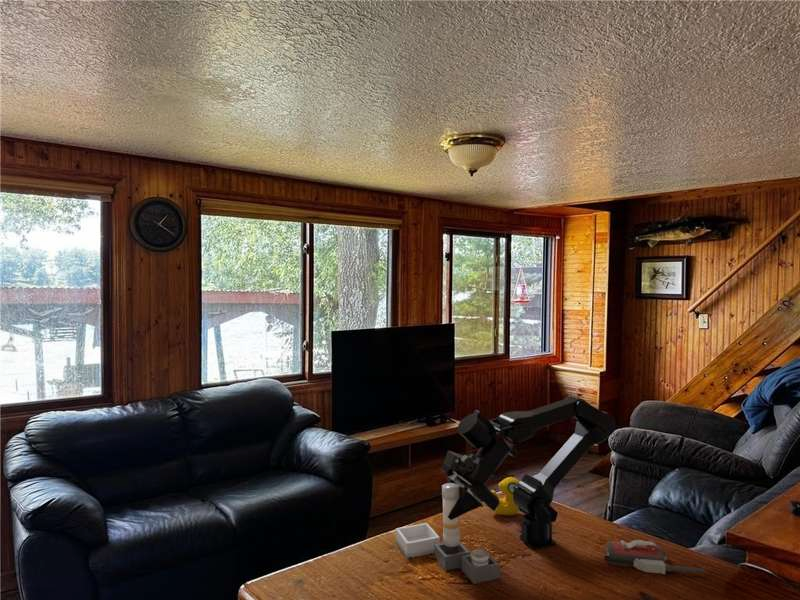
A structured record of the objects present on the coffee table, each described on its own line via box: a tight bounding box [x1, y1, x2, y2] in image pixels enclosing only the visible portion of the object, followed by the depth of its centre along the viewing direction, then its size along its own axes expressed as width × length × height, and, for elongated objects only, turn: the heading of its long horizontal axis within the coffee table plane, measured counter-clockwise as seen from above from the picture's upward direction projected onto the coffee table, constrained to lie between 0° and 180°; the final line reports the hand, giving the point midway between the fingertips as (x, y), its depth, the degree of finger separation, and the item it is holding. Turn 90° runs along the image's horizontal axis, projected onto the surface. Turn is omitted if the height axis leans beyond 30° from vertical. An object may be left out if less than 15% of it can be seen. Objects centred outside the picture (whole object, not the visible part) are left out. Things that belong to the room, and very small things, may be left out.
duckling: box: [490, 476, 520, 516], centre depth 149 cm, size 11×5×10 cm, turn 88°
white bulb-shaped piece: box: [441, 482, 461, 547], centre depth 125 cm, size 4×4×13 cm
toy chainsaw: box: [603, 539, 706, 575], centre depth 123 cm, size 9×4×20 cm
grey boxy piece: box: [460, 553, 501, 585], centre depth 120 cm, size 6×6×3 cm
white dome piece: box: [470, 548, 490, 568], centre depth 120 cm, size 4×4×4 cm
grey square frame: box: [434, 541, 471, 571], centre depth 125 cm, size 6×6×3 cm
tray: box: [395, 522, 441, 559], centre depth 132 cm, size 8×8×4 cm
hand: (445, 515), depth 125 cm, fingers closed on white bulb-shaped piece, 4 cm apart
